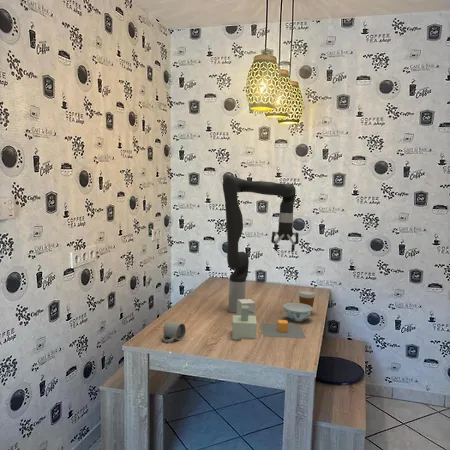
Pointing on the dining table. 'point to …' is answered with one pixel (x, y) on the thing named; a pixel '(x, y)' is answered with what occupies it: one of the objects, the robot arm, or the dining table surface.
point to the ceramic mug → (174, 331)
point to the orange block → (282, 326)
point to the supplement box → (246, 302)
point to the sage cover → (244, 325)
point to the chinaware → (297, 311)
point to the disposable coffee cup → (306, 298)
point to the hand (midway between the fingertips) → (284, 251)
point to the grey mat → (272, 331)
